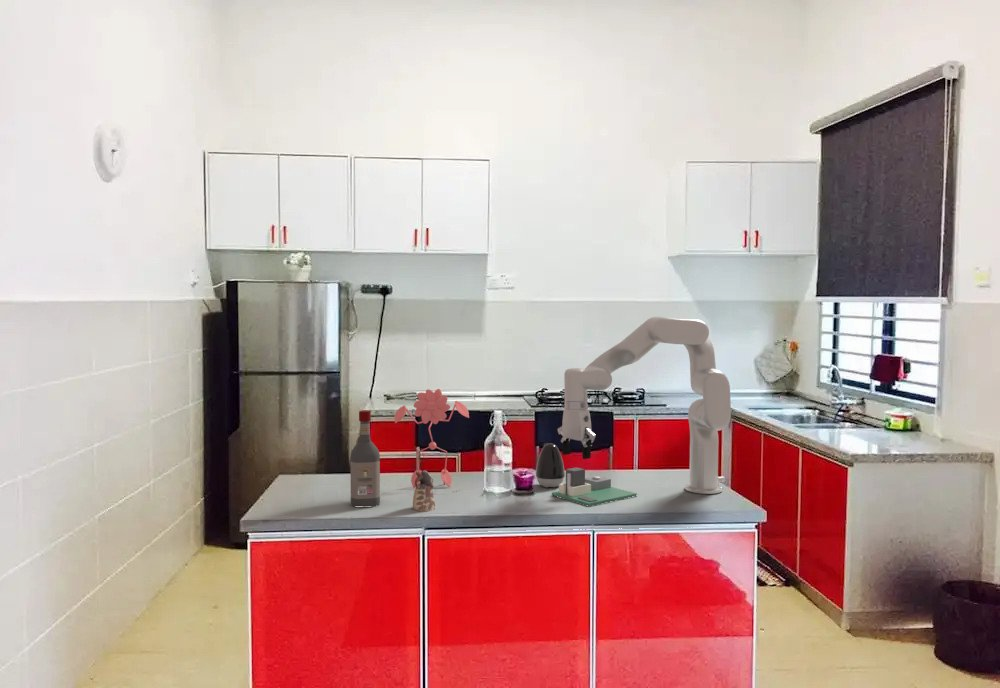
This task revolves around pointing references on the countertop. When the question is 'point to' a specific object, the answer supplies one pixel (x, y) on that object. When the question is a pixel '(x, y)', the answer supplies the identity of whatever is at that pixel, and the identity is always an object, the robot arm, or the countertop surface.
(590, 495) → the board
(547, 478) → the dark egg-shaped speaker
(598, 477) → the grey flat block
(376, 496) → the liquor
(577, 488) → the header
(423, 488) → the figurine
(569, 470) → the plug
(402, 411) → the figurine
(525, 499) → the countertop surface
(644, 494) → the countertop surface
